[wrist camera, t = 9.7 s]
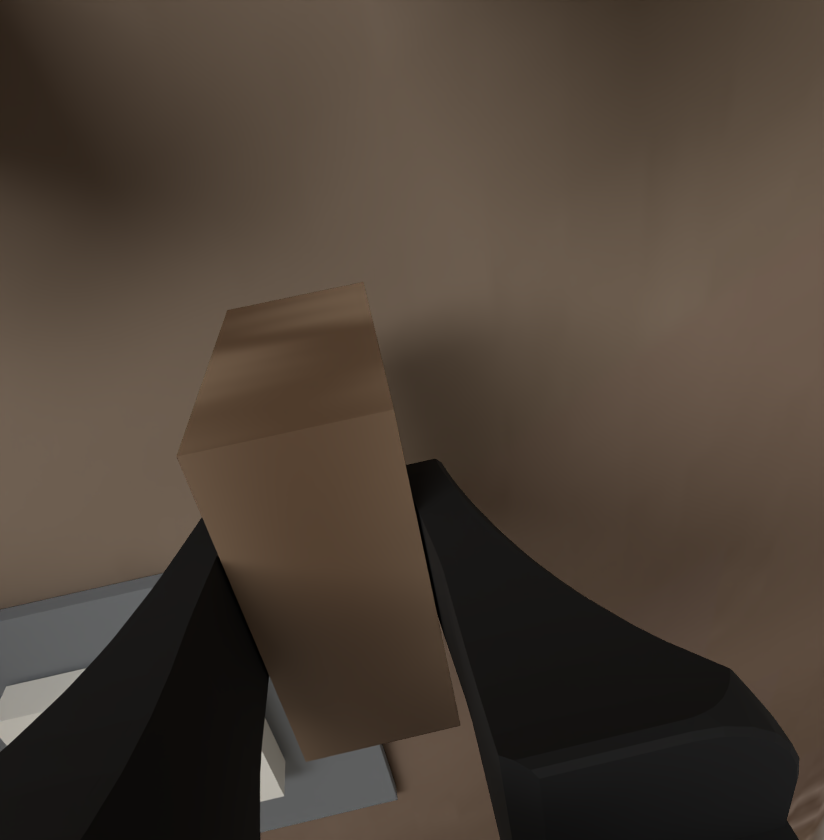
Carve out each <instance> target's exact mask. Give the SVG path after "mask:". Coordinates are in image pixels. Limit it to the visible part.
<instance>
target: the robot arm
mask: <svg viewBox="0 0 824 840" xmlns="http://www.w3.org/2000/svg"><path fill="white" fill-rule="evenodd" d="M406 469H407V474H408V479H409V484H410V488H411V493H412V498H413V503H414V507H415V512H416V517H417V521H418V526H419V531H420V536H421V540H422V545H423V550H424V555H425V559H426V564H427V569H428V574H429V578H430V583H431V588H432V593H433V597H434V602H435V607H436V612H437V615H438V618H439V621H440V624H441V627H442V630H443V633H444V636H445V639H446V642H447V645H448V648H449V651H450V654H451V657H452V660H453V663H454V666H455V669H456V672H457V674H458V677H459V680H460V683H461V686H462V689H463V692H464V695H465V698H466V702H467V705H468V708H469V712H470V715H471V719H472V722H473V726H474V730H475V734H476V739H477V743H478V747H479V751H480V755H481V760H482V764H483V768H484V772H485V776H486V781H487V785H488V789H489V793H490V797H491V802H492V806H493V810H494V814H495V819H496V823H497V827H498V831H499V835H500V840H799V839H798V838H797V836H796V834H795V833H794V831H793V829H792V828H791V826H790V825H789V823H788V821H787V817H788V813H789V809H790V805H791V801H792V798H793V794H794V790H795V786H796V783H797V779H798V775H799V756H798V755H797V753H796V751H795V749H794V747H793V745H792V743H791V742H790V740H789V739H788V737H787V736H786V734H785V733H784V731H783V730H782V728H781V727H780V726H779V724H778V723H777V722H776V720H775V719H774V717H773V716H772V715H771V714H770V712H769V711H768V710H767V709H766V708H765V707H764V705H763V704H762V703H761V702H760V701H759V700H758V699H757V697H756V696H755V695H754V694H753V693H752V692H751V691H750V689H749V688H748V687H747V686H746V685H745V684H744V683H743V682H742V681H741V679H740V678H739V677H738V676H737V675H736V674H735V673H734V672H733V671H732V670H731V669H730V668H727V667H725V666H723V665H720V664H718V663H716V662H713V661H711V660H708V659H706V658H704V657H701V656H699V655H697V654H694V653H692V652H690V651H687V650H685V649H683V648H680V647H678V646H675V645H673V644H671V643H668V642H666V641H664V640H662V639H660V638H658V637H656V636H654V635H652V634H650V633H648V632H646V631H644V630H642V629H640V628H638V627H636V626H634V625H632V624H630V623H629V622H627V621H625V620H624V619H622V618H620V617H618V616H617V615H615V614H613V613H612V612H610V611H608V610H606V609H605V608H603V607H601V606H600V605H598V604H596V603H595V602H593V601H591V600H589V599H588V598H586V597H584V596H583V595H581V594H580V593H578V592H577V591H575V590H574V589H573V588H571V587H570V586H568V585H567V584H565V583H564V582H562V581H561V580H559V579H558V578H557V577H555V576H554V575H553V574H551V573H550V572H549V571H547V570H546V569H544V568H543V567H542V566H540V565H539V564H538V563H537V562H535V561H534V560H533V559H532V558H530V557H529V556H528V555H527V554H526V553H524V552H523V551H522V550H521V549H520V548H518V547H517V546H516V545H515V544H514V543H513V542H512V541H511V540H509V539H508V538H507V537H506V536H505V535H504V534H503V533H502V532H501V531H500V530H499V529H498V528H496V527H495V526H494V525H493V524H492V523H491V522H490V521H489V520H488V519H487V517H486V516H485V515H484V514H483V513H482V512H481V511H480V510H479V509H478V508H477V507H476V506H475V505H474V504H473V503H472V502H471V501H470V500H469V498H468V497H467V496H466V495H465V494H464V493H463V491H462V490H461V489H460V488H459V487H458V485H457V484H456V483H455V482H454V480H453V479H452V478H451V476H450V475H449V474H448V472H447V471H446V469H445V468H444V466H443V464H442V463H441V462H440V461H438V460H436V459H432V460H427V461H423V462H418V463H414V464H409V465H406ZM268 683H269V674H268V671H267V669H266V667H265V664H264V662H263V660H262V657H261V655H260V653H259V650H258V648H257V645H256V643H255V641H254V638H253V636H252V634H251V631H250V629H249V627H248V624H247V622H246V619H245V617H244V615H243V612H242V610H241V608H240V605H239V603H238V601H237V598H236V596H235V594H234V591H233V589H232V586H231V584H230V582H229V579H228V577H227V575H226V572H225V570H224V568H223V565H222V563H221V560H220V558H219V556H218V553H217V551H216V549H215V546H214V544H213V542H212V539H211V537H210V535H209V532H208V530H207V527H206V525H205V523H204V520H203V518H201V519H200V521H199V522H198V524H197V525H196V527H195V528H194V530H193V531H192V533H191V534H190V535H189V537H188V538H187V540H186V541H185V543H184V544H183V546H182V547H181V549H180V550H179V551H178V553H177V554H176V556H175V557H174V559H173V560H172V562H171V563H170V565H169V566H168V567H167V569H166V570H165V571H164V573H163V574H162V576H161V577H160V578H159V580H158V581H157V583H156V584H155V585H154V587H153V588H152V590H151V591H150V592H149V594H148V595H147V596H146V597H145V599H144V600H143V601H142V602H141V604H140V605H139V606H138V608H137V609H136V610H135V611H134V613H133V614H132V615H131V616H130V618H129V619H128V620H127V622H126V623H125V624H124V625H123V627H122V628H121V629H120V630H119V632H118V633H117V634H116V635H115V637H114V638H113V639H112V640H111V641H110V642H109V644H108V645H107V646H106V647H105V648H104V649H103V651H102V652H101V653H100V654H99V655H98V656H97V657H96V658H95V660H94V661H93V662H92V663H91V664H90V665H89V666H88V667H87V668H86V669H85V670H84V671H83V672H82V673H81V675H80V676H79V677H78V678H77V679H76V680H75V681H74V682H73V683H72V684H71V685H70V686H69V687H68V688H67V689H66V690H65V691H64V692H63V693H62V694H61V695H60V696H59V697H58V698H57V699H56V700H55V701H54V702H53V703H52V704H51V705H50V706H49V707H48V708H47V709H46V710H45V711H44V712H42V713H41V714H40V715H39V716H38V717H37V718H36V719H35V720H34V721H33V722H32V723H31V724H30V725H29V726H28V727H27V728H26V729H25V730H24V731H22V732H21V733H20V734H19V735H18V736H17V737H16V738H15V739H14V740H13V741H12V742H11V743H10V744H9V745H7V746H6V747H5V748H4V749H3V750H2V751H1V752H0V840H260V770H261V754H262V741H263V731H264V722H265V712H266V702H267V693H268Z"/></svg>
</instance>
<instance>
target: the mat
mask: <svg viewBox="0 0 824 840" xmlns="http://www.w3.org/2000/svg"><path fill="white" fill-rule="evenodd" d="M162 574H163V573H162ZM162 574H158V575H153V576H149V577H144V578H140V579H135V580H131V581H126V582H122V583H117V584H113V585H108V586H104V587H99V588H95V589H90V590H86V591H82V592H77V593H73V594H68V595H64V596H59V597H55V598H50V599H46V600H41V601H37V602H32V603H28V604H23V605H19V606H14V607H10V608H5V609H1V610H0V699H1V697H2V695H3V692H4V690H5V688H6V686H10V685H15V684H19V683H23V682H28V681H32V680H36V679H41V678H45V677H50V676H54V675H58V674H63V673H67V672H72V671H76V670H80V669H85V668H87V667H88V666H89V665H90V664H91V663H92V662H93V661H94V660H95V658H96V657H97V656H98V655H99V654H100V653H101V652H102V651H103V649H104V648H105V647H106V646H107V645H108V644H109V642H110V641H111V640H112V639H113V638H114V637H115V635H116V634H117V633H118V632H119V630H120V629H121V628H122V627H123V625H124V624H125V623H126V622H127V620H128V619H129V618H130V616H131V615H132V614H133V613H134V611H135V610H136V609H137V608H138V606H139V605H140V604H141V602H142V601H143V600H144V599H145V597H146V596H147V595H148V594H149V592H150V591H151V590H152V588H153V587H154V585H155V584H156V583H157V581H158V580H159V578H160V577H161V576H162ZM265 719H266V721H267V723H268V725H269V727H270V729H271V731H272V734H273V736H274V738H275V740H276V742H277V744H278V746H279V748H280V751H281V753H282V755H283V757H284V759H285V791H284V796H283V797H279V798H274V799H270V800H266V801H262V802H260V833H261V832H265V831H269V830H273V829H277V828H281V827H286V826H290V825H294V824H298V823H302V822H306V821H311V820H315V819H319V818H323V817H327V816H332V815H336V814H340V813H344V812H348V811H352V810H357V809H361V808H365V807H369V806H373V805H377V804H382V803H386V802H390V801H394V800H398V799H397V791H396V786H395V782H394V779H393V776H392V773H391V770H390V767H389V764H388V761H387V758H386V755H385V752H384V749H383V745H382V744H380V745H376V746H372V747H368V748H363V749H359V750H355V751H351V752H346V753H342V754H338V755H334V756H329V757H325V758H321V759H317V760H312V761H308V762H306V761H305V759H304V756H303V754H302V752H301V749H300V747H299V745H298V742H297V740H296V738H295V735H294V733H293V730H292V728H291V726H290V723H289V721H288V719H287V716H286V714H285V712H284V709H283V707H282V704H281V702H280V700H279V697H278V695H277V693H276V690H275V688H274V686H273V683H272V681H271V678H270V676H269V683H268V693H267V702H266V712H265ZM6 746H7V745H6V744H5V743H4V742H3V741H2V739H1V738H0V752H1V751H2V750H3V749H4V748H5V747H6Z"/></svg>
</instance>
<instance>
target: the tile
mask: <svg viewBox="0 0 824 840" xmlns="http://www.w3.org/2000/svg"><path fill="white" fill-rule="evenodd" d="M85 669H86V668H85ZM85 669H80V670H76V671H72V672H67V673H63V674H58V675H54V676H50V677H45V678H41V679H36V680H32V681H28V682H23V683H19V684H15V685H10V686H6V688H5V690H4V692H3V695H2V697H1V699H0V738H1V739H2V741H3V742H4V743H5V744H6V745H9V744H10V743H11V742H12V741H13V740H14V739H15V738H16V737H17V736H18V735H19V734H20V733H21V732H22V731H24V730H25V729H26V728H27V727H28V726H29V725H30V724H31V723H32V722H33V721H34V720H35V719H36V718H37V717H38V716H39V715H40V714H41V713H42V712H44V711H45V710H46V709H47V708H48V707H49V706H50V705H51V704H52V703H53V702H54V701H55V700H56V699H57V698H58V697H59V696H60V695H61V694H62V693H63V692H64V691H65V690H66V689H67V688H68V687H69V686H70V685H71V684H72V683H73V682H74V681H75V680H76V679H77V678H78V677H79V676H80V675H81V673H82V672H83V671H84V670H85ZM284 791H285V759H284V757H283V755H282V753H281V751H280V748H279V746H278V744H277V742H276V740H275V738H274V736H273V734H272V731H271V729H270V727H269V725H268V723H267V721H266V719H265V722H264V731H263V741H262V754H261V770H260V802H262V801H266V800H270V799H274V798H279V797H283V796H284Z"/></svg>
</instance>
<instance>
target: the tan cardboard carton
mask: <svg viewBox="0 0 824 840" xmlns="http://www.w3.org/2000/svg"><path fill="white" fill-rule="evenodd" d="M177 459H178V461H179V464H180V466H181V468H182V471H183V473H184V475H185V478H186V480H187V483H188V485H189V487H190V490H191V492H192V494H193V497H194V499H195V501H196V504H197V506H198V509H199V511H200V513H201V516H202V518H203V520H204V523H205V525H206V527H207V530H208V532H209V535H210V537H211V539H212V542H213V544H214V546H215V549H216V551H217V553H218V556H219V558H220V560H221V563H222V565H223V568H224V570H225V572H226V575H227V577H228V579H229V582H230V584H231V586H232V589H233V591H234V594H235V596H236V598H237V601H238V603H239V605H240V608H241V610H242V612H243V615H244V617H245V619H246V622H247V624H248V627H249V629H250V631H251V634H252V636H253V638H254V641H255V643H256V645H257V648H258V650H259V653H260V655H261V657H262V660H263V662H264V664H265V667H266V669H267V671H268V674H269V676H270V678H271V681H272V683H273V686H274V688H275V690H276V693H277V695H278V697H279V700H280V702H281V704H282V707H283V709H284V712H285V714H286V716H287V719H288V721H289V723H290V726H291V728H292V730H293V733H294V735H295V738H296V740H297V742H298V745H299V747H300V749H301V752H302V754H303V756H304V759H305V761H306V762H308V761H312V760H317V759H321V758H325V757H329V756H334V755H338V754H342V753H346V752H351V751H355V750H359V749H363V748H368V747H372V746H376V745H380V744H385V743H389V742H393V741H397V740H402V739H406V738H410V737H414V736H419V735H423V734H427V733H431V732H436V731H440V730H444V729H448V728H452V727H457V726H460V721H459V716H458V711H457V707H456V702H455V697H454V692H453V688H452V683H451V678H450V673H449V669H448V664H447V659H446V654H445V650H444V645H443V640H442V635H441V631H440V626H439V621H438V616H437V612H436V607H435V602H434V597H433V593H432V588H431V583H430V578H429V574H428V569H427V564H426V559H425V555H424V550H423V545H422V540H421V536H420V531H419V526H418V521H417V517H416V512H415V507H414V503H413V498H412V493H411V488H410V484H409V479H408V474H407V469H406V465H405V460H404V455H403V450H402V446H401V441H400V436H399V431H398V427H397V422H396V417H395V412H394V408H393V404H392V399H391V395H390V391H389V387H388V383H387V379H386V374H385V370H384V366H383V362H382V358H381V354H380V349H379V345H378V341H377V337H376V333H375V328H374V324H373V320H372V316H371V312H370V308H369V303H368V299H367V295H366V291H365V287H364V283H363V282H360V283H356V284H351V285H346V286H341V287H337V288H332V289H327V290H322V291H317V292H313V293H308V294H303V295H298V296H294V297H289V298H284V299H279V300H274V301H270V302H265V303H260V304H255V305H250V306H246V307H241V308H236V309H231V310H227V313H226V316H225V319H224V322H223V324H222V327H221V330H220V333H219V336H218V339H217V342H216V345H215V347H214V350H213V353H212V356H211V359H210V362H209V365H208V368H207V370H206V373H205V376H204V379H203V382H202V385H201V388H200V391H199V393H198V396H197V399H196V402H195V405H194V408H193V411H192V414H191V416H190V419H189V422H188V425H187V428H186V431H185V434H184V437H183V439H182V442H181V445H180V448H179V451H178V454H177Z"/></svg>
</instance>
